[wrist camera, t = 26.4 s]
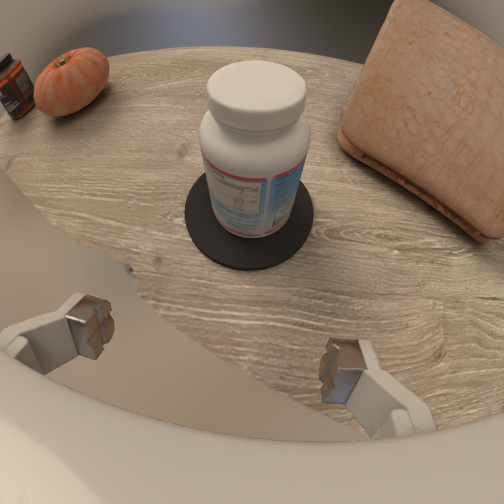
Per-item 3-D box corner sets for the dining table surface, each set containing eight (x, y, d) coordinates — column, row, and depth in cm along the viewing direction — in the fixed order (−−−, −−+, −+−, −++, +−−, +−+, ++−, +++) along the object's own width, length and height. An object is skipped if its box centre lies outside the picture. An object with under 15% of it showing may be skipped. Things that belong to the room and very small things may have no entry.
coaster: (294, 288, 20) (296, 286, 19) (165, 247, 21) (163, 244, 20) (322, 179, 23) (323, 176, 23) (213, 150, 24) (213, 146, 24)
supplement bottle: (42, 90, 30) (19, 42, 20) (37, 108, 28) (9, 55, 18) (15, 107, 29) (-10, 63, 19) (9, 126, 27) (-21, 79, 17)
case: (322, 150, 25) (370, -7, 10) (375, 74, 32) (406, -14, 17) (485, 261, 21) (594, 181, 6) (487, 149, 28) (540, 79, 13)
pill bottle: (273, 167, 23) (291, 49, 13) (302, 228, 21) (348, 113, 10) (203, 184, 22) (182, 64, 12) (224, 251, 20) (207, 136, 10)
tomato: (47, 143, 25) (19, 98, 18) (47, 104, 28) (27, 66, 21) (123, 100, 27) (105, 48, 20) (109, 70, 31) (96, 28, 23)
